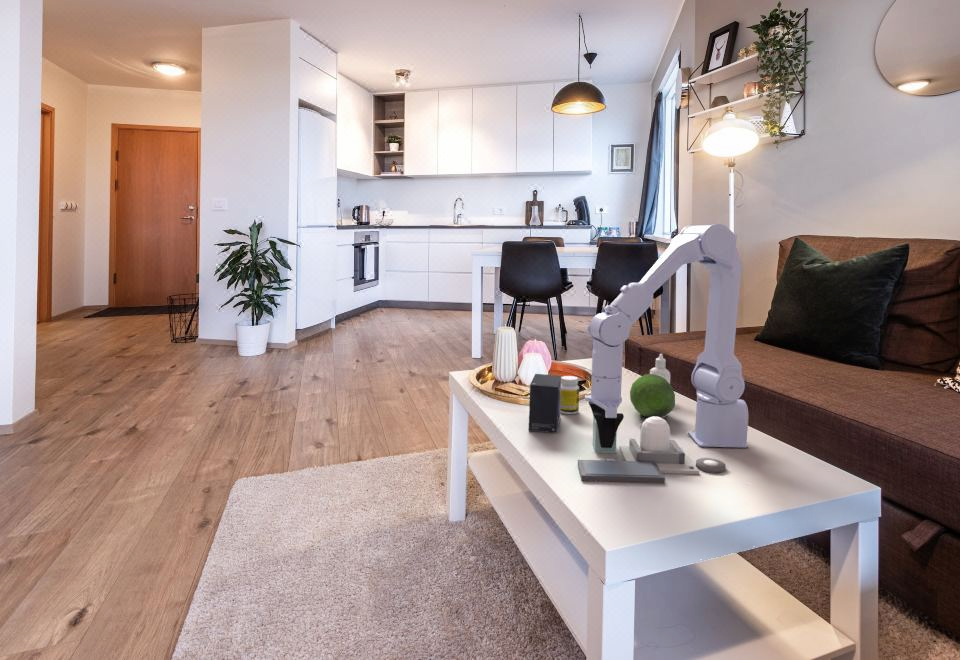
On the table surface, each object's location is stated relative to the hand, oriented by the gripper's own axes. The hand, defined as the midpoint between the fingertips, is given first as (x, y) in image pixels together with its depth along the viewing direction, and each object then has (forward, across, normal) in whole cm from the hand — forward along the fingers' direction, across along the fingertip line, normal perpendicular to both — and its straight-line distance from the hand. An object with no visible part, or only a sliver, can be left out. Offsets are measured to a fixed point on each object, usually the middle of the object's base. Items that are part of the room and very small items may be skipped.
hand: (604, 442), depth 113 cm
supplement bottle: (+2, -24, -5) cm, 25 cm away
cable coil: (+1, +8, +18) cm, 20 cm away
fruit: (+2, -23, +14) cm, 27 cm away
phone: (+1, +12, +1) cm, 12 cm away
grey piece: (+1, +5, +9) cm, 11 cm away
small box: (+2, -14, -11) cm, 18 cm away
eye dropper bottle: (+2, -36, +19) cm, 41 cm away
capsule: (+2, +4, +9) cm, 10 cm away
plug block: (+2, 0, 0) cm, 2 cm away
